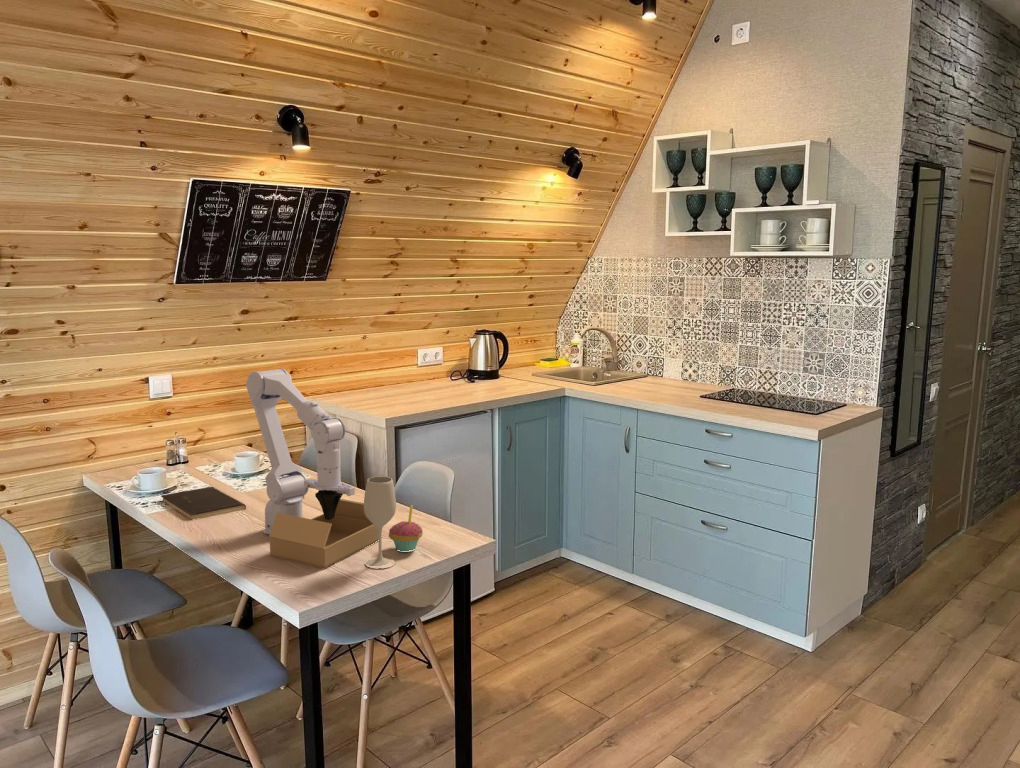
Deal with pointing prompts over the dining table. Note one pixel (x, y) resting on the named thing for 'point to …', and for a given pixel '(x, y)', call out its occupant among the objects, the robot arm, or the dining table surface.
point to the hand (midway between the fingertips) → (329, 518)
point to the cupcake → (405, 534)
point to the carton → (329, 542)
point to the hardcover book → (203, 502)
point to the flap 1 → (300, 530)
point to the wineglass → (379, 509)
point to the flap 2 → (351, 509)
